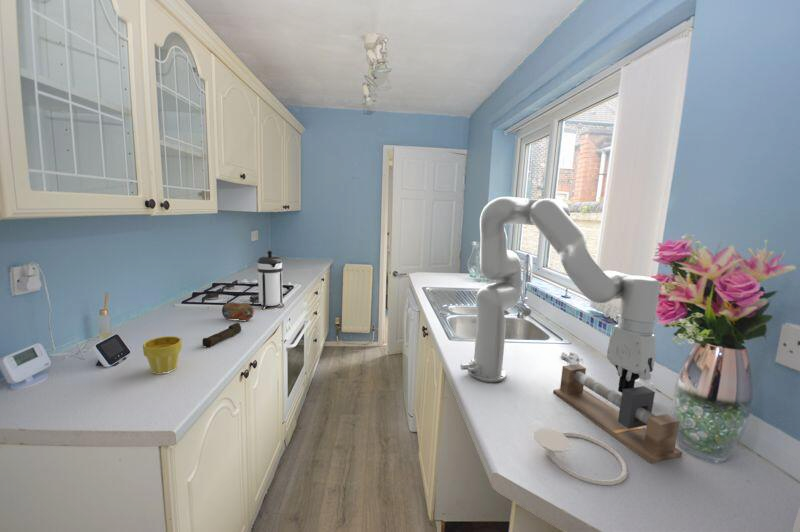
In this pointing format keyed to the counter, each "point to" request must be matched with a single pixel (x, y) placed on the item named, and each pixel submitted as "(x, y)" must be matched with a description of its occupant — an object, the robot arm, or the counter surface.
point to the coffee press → (270, 280)
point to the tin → (237, 311)
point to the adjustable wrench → (570, 358)
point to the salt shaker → (644, 383)
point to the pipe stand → (643, 441)
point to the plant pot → (162, 353)
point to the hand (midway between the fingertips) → (625, 392)
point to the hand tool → (222, 335)
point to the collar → (634, 405)
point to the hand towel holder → (561, 443)
